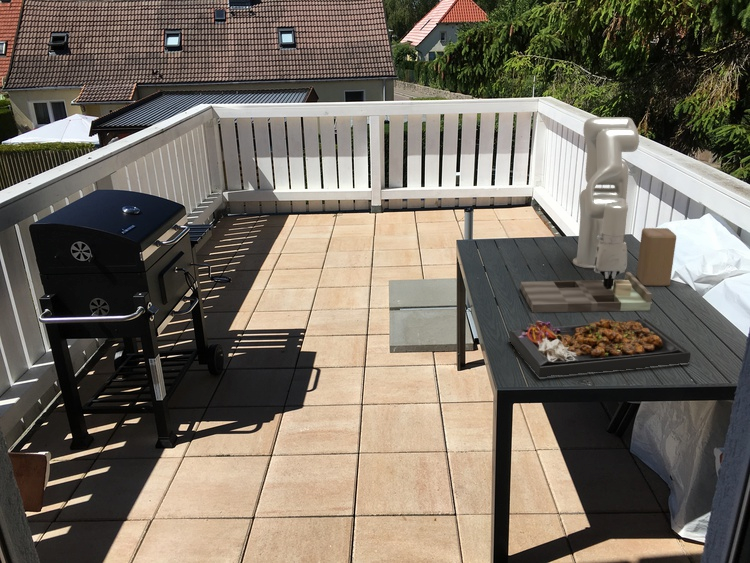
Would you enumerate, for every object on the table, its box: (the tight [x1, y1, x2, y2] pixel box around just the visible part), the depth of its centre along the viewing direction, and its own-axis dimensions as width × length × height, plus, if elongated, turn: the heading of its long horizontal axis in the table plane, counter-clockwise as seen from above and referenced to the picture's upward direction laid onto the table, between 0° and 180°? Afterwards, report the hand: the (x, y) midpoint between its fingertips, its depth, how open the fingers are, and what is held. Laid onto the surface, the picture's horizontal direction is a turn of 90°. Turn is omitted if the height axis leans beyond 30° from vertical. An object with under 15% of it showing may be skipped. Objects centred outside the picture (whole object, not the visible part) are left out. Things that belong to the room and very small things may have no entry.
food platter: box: [508, 313, 691, 377], centre depth 195 cm, size 45×25×10 cm, turn 98°
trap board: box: [520, 271, 653, 314], centre depth 235 cm, size 22×40×6 cm, turn 89°
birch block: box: [613, 279, 632, 296], centre depth 232 cm, size 5×5×4 cm
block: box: [636, 227, 677, 287], centre depth 246 cm, size 10×10×20 cm
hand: (607, 287), depth 234 cm, fingers closed
